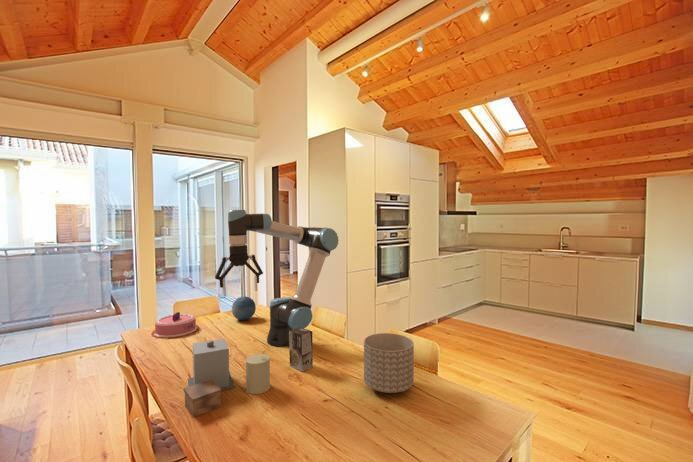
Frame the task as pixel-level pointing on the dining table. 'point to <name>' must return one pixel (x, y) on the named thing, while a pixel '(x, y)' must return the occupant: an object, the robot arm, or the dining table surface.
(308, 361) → the coffee box
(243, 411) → the dining table surface
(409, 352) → the planter
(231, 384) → the mat
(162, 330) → the cake
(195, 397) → the box
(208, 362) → the cover
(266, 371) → the can
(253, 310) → the decorative ball
